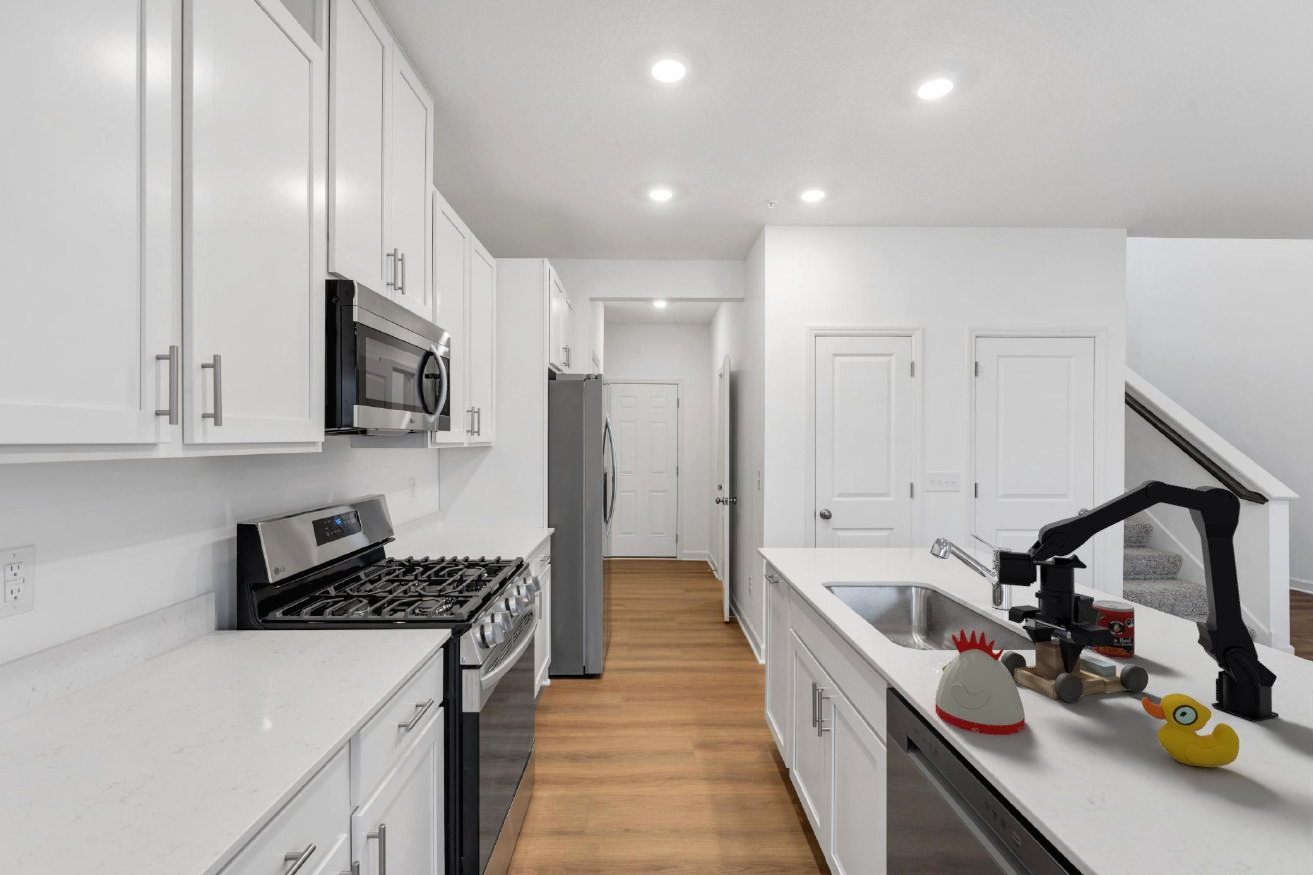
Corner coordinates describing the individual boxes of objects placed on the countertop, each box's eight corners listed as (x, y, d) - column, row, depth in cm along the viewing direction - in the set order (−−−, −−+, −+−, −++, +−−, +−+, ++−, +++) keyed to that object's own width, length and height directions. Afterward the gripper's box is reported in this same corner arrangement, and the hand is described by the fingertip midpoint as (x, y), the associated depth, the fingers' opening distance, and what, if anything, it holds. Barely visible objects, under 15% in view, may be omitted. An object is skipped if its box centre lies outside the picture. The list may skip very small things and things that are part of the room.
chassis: (1148, 692, 119) (1148, 665, 119) (1063, 705, 114) (1062, 677, 114) (1079, 666, 133) (1079, 642, 133) (1000, 676, 127) (999, 652, 128)
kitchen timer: (947, 694, 119) (946, 615, 119) (1030, 713, 110) (1030, 629, 111) (925, 719, 108) (924, 633, 109) (1015, 743, 100) (1015, 649, 100)
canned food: (1095, 655, 140) (1095, 606, 140) (1090, 645, 147) (1090, 598, 147) (1138, 661, 136) (1137, 610, 136) (1130, 650, 143) (1130, 602, 143)
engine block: (1080, 677, 121) (1079, 642, 121) (1055, 681, 119) (1055, 645, 120) (1059, 669, 125) (1059, 635, 125) (1035, 672, 124) (1035, 638, 124)
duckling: (1147, 763, 93) (1147, 696, 93) (1137, 747, 98) (1136, 683, 98) (1246, 780, 88) (1245, 709, 88) (1230, 762, 93) (1229, 695, 93)
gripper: (1136, 597, 116) (1137, 681, 116) (1048, 576, 134) (1049, 649, 134) (1089, 601, 113) (1090, 688, 113) (1005, 579, 131) (1006, 654, 131)
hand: (1058, 668), depth 122 cm, fingers closed on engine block, 4 cm apart
